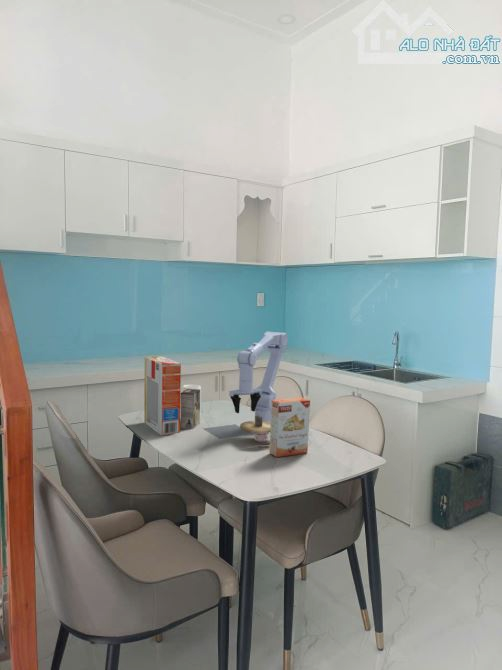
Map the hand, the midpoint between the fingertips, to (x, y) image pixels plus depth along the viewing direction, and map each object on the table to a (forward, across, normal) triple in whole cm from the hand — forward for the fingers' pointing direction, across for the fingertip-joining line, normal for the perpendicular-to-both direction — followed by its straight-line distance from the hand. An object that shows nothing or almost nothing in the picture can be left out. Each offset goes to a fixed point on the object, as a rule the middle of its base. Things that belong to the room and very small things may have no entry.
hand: (245, 411), depth 215 cm
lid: (+4, -1, +10) cm, 11 cm away
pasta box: (+11, +27, -27) cm, 39 cm away
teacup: (+11, -2, +10) cm, 15 cm away
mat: (+10, +4, -8) cm, 14 cm away
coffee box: (+11, +15, -23) cm, 29 cm away
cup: (+10, +10, -33) cm, 36 cm away
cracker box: (+11, -4, +27) cm, 29 cm away
